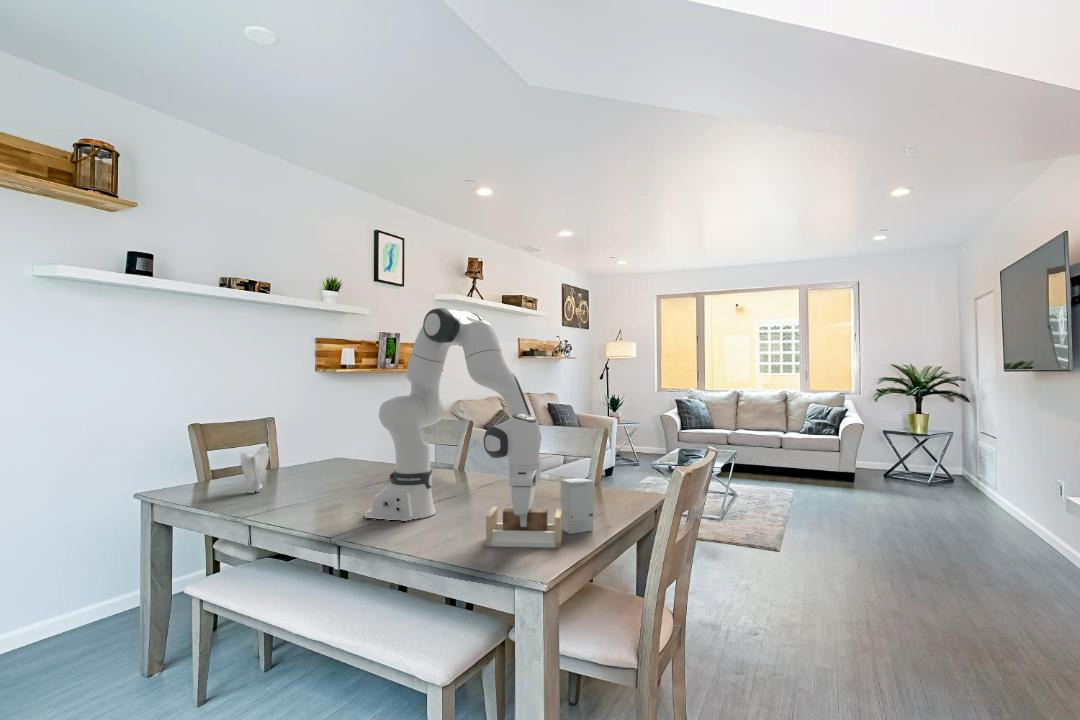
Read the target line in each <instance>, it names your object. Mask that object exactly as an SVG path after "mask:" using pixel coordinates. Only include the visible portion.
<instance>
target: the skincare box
mask: <svg viewBox="0 0 1080 720" xmlns="http://www.w3.org/2000/svg"><path fill="white" fill-rule="evenodd" d="M560 508H562V532H565V533H566V534H567V535H575V534H580V533H586V532H587V531H588V532H593V531H594V480H592V479H588V478H585V477H580V478H579V477H577V478H565V479H560Z"/></svg>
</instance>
